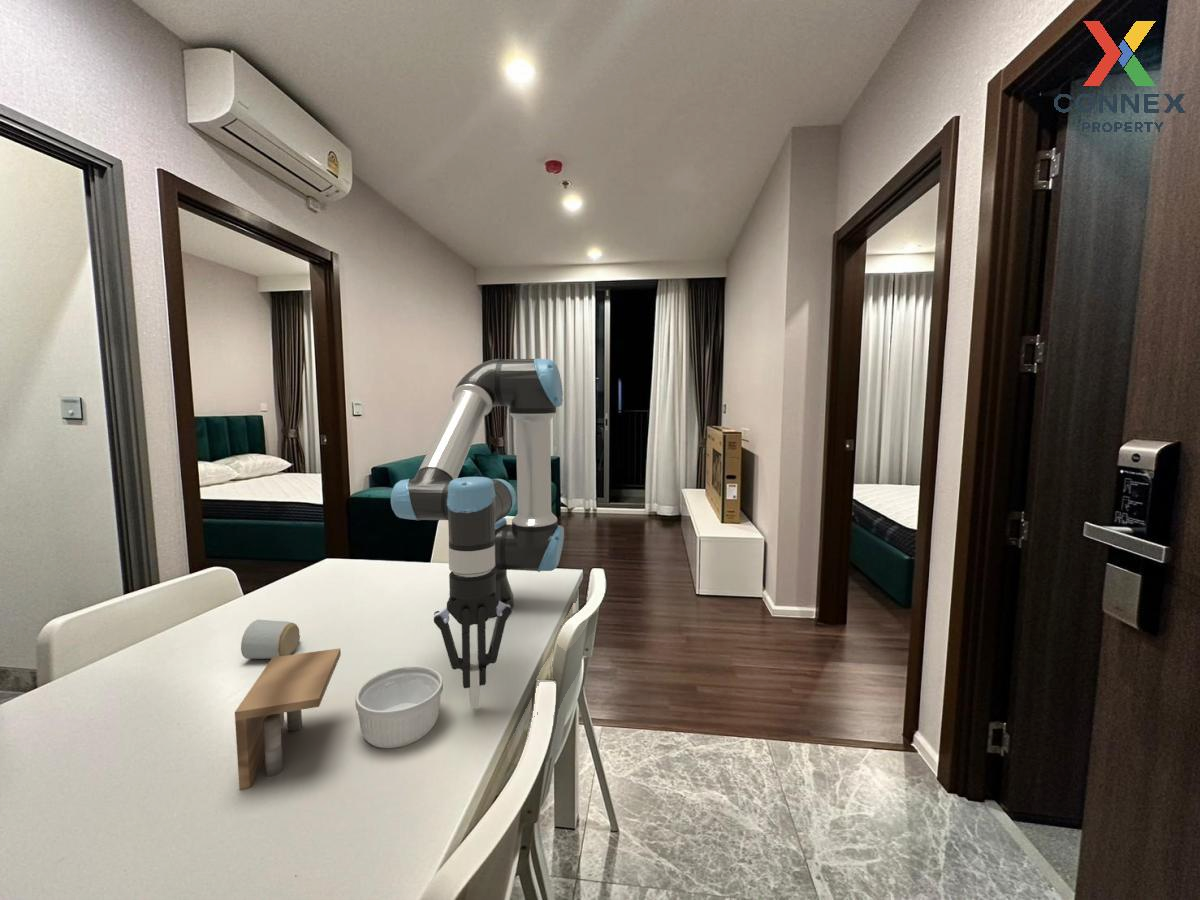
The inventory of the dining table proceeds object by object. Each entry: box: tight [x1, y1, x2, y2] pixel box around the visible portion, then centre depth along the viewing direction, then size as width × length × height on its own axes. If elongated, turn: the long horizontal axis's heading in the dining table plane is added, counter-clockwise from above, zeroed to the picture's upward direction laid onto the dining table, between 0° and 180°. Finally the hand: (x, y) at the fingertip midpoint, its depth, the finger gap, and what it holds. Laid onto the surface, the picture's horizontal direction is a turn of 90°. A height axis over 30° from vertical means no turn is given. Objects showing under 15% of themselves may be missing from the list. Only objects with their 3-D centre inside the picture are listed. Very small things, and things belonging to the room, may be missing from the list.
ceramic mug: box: [240, 619, 301, 660], centre depth 102 cm, size 11×8×8 cm
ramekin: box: [354, 665, 444, 749], centre depth 78 cm, size 13×13×7 cm
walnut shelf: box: [234, 648, 342, 790], centre depth 73 cm, size 10×15×11 cm, turn 18°
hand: (474, 702), depth 82 cm, fingers closed
